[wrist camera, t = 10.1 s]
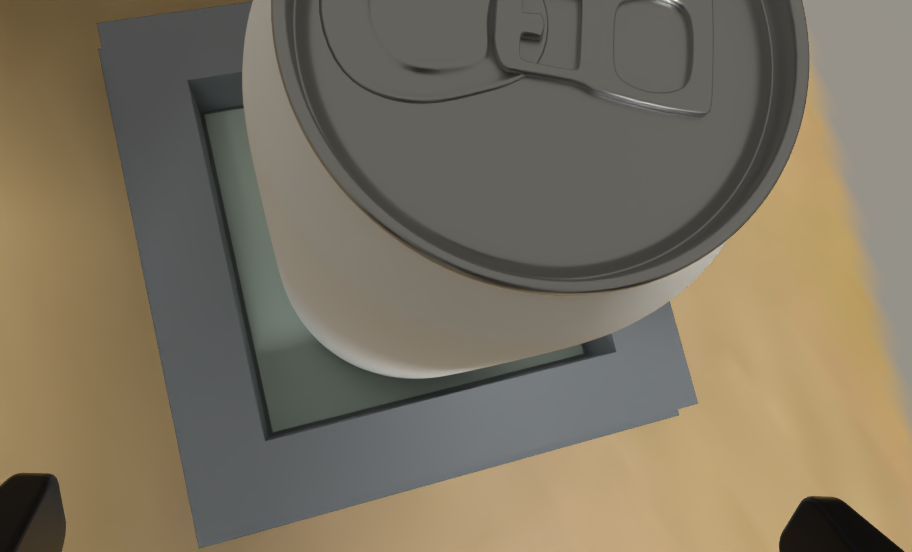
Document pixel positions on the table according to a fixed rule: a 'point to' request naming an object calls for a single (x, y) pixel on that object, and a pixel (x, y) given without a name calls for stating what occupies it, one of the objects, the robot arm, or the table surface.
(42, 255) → the table surface
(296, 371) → the holder
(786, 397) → the table surface
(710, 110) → the can
